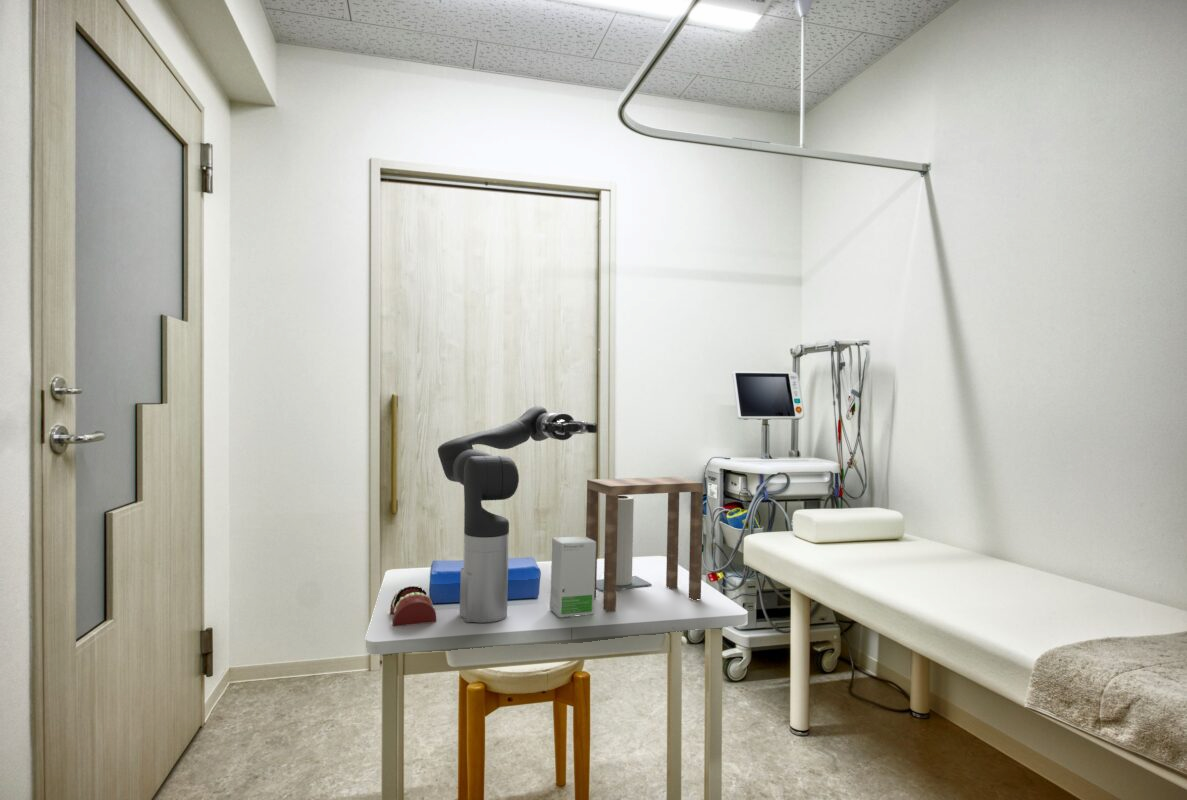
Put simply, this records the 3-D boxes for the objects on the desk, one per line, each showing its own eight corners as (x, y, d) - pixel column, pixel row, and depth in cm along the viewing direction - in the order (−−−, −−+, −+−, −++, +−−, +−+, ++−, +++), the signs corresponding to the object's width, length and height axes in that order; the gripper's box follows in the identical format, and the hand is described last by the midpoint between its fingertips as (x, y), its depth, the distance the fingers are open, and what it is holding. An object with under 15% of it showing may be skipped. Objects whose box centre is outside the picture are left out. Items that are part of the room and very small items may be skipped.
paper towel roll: (632, 586, 154) (634, 498, 154) (607, 586, 154) (609, 498, 154) (631, 578, 161) (633, 494, 161) (607, 577, 161) (609, 493, 161)
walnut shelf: (607, 612, 136) (610, 486, 136) (584, 596, 147) (587, 479, 147) (700, 599, 146) (703, 482, 146) (673, 585, 157) (675, 476, 157)
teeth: (429, 578, 137) (437, 594, 126) (429, 606, 137) (437, 625, 126) (388, 582, 134) (393, 600, 123) (388, 612, 134) (393, 632, 123)
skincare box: (558, 618, 131) (559, 543, 131) (548, 609, 137) (550, 537, 137) (595, 614, 134) (597, 541, 134) (584, 605, 140) (586, 534, 140)
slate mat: (600, 591, 151) (600, 589, 151) (586, 582, 158) (586, 581, 158) (651, 585, 157) (651, 584, 157) (635, 577, 164) (635, 575, 164)
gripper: (580, 439, 182) (604, 443, 167) (533, 439, 176) (554, 443, 162) (581, 413, 182) (605, 414, 167) (534, 412, 176) (554, 414, 162)
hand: (580, 428), depth 165 cm, fingers open, 8 cm apart
